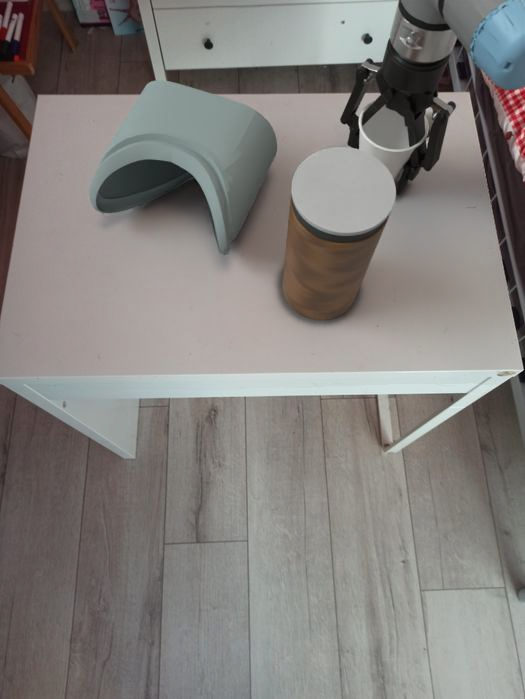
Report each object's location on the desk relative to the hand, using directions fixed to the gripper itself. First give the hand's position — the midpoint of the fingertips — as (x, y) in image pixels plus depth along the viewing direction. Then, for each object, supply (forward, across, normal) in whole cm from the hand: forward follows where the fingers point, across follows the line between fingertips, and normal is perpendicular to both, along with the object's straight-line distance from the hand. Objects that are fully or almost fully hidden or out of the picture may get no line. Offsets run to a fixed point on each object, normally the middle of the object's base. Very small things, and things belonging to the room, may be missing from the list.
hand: (376, 174), depth 79 cm
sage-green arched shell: (0, -21, -22) cm, 30 cm away
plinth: (0, +4, -22) cm, 22 cm away
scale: (-20, +4, -22) cm, 30 cm away
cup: (0, 0, 0) cm, 0 cm away
